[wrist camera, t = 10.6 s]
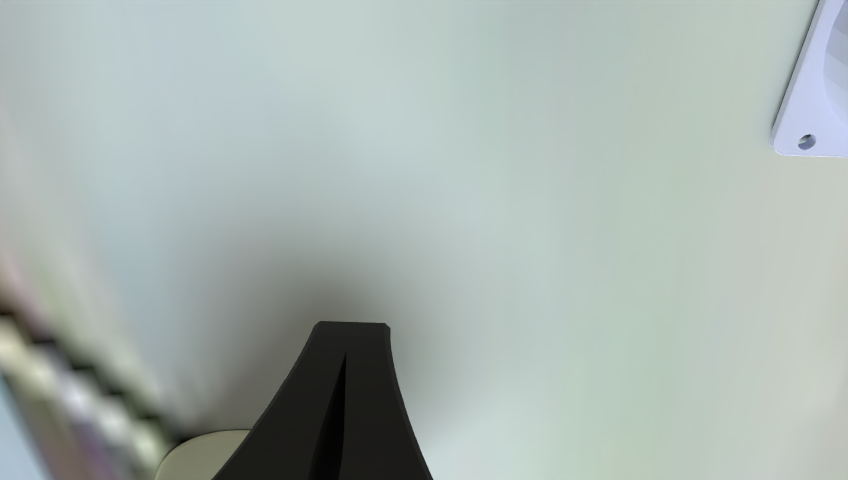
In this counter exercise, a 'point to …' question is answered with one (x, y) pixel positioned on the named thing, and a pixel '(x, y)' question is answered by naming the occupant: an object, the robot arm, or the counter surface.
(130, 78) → the counter surface
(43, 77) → the counter surface
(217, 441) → the can
